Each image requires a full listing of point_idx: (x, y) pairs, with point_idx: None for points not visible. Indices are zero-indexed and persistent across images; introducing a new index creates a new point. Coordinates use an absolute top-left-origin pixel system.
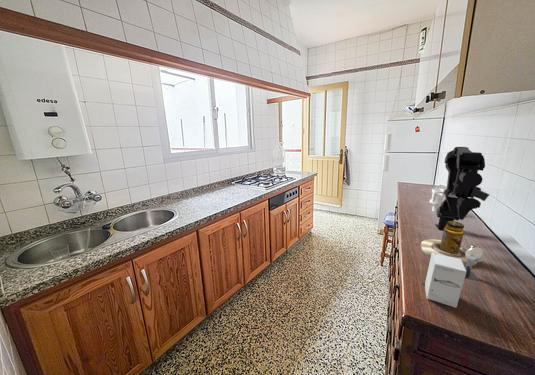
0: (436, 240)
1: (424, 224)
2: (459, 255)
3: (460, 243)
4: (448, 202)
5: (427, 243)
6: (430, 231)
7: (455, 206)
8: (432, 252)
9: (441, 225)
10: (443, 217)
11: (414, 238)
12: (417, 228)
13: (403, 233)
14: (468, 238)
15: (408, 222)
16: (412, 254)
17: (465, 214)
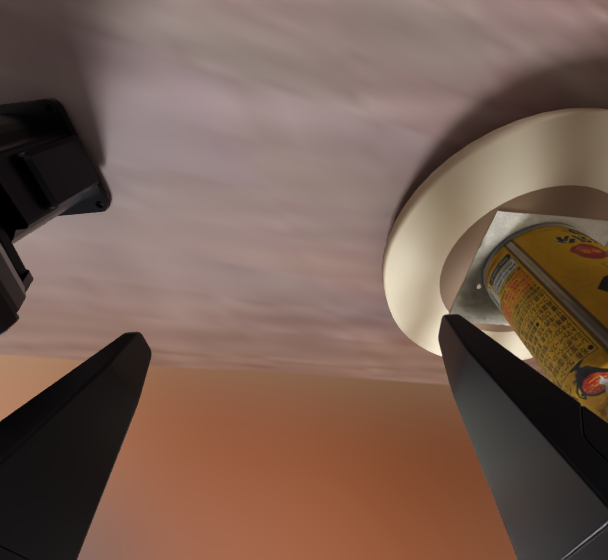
0: (401, 296)
1: (73, 273)
2: (605, 229)
3: None
4: (80, 543)
5: None
6: (181, 261)
7: (68, 415)
8: None
9: (64, 207)
10: (6, 243)
11: (337, 342)
12: (181, 314)
13: (296, 371)
14: (133, 3)
15: None
16: None
17: (548, 400)
